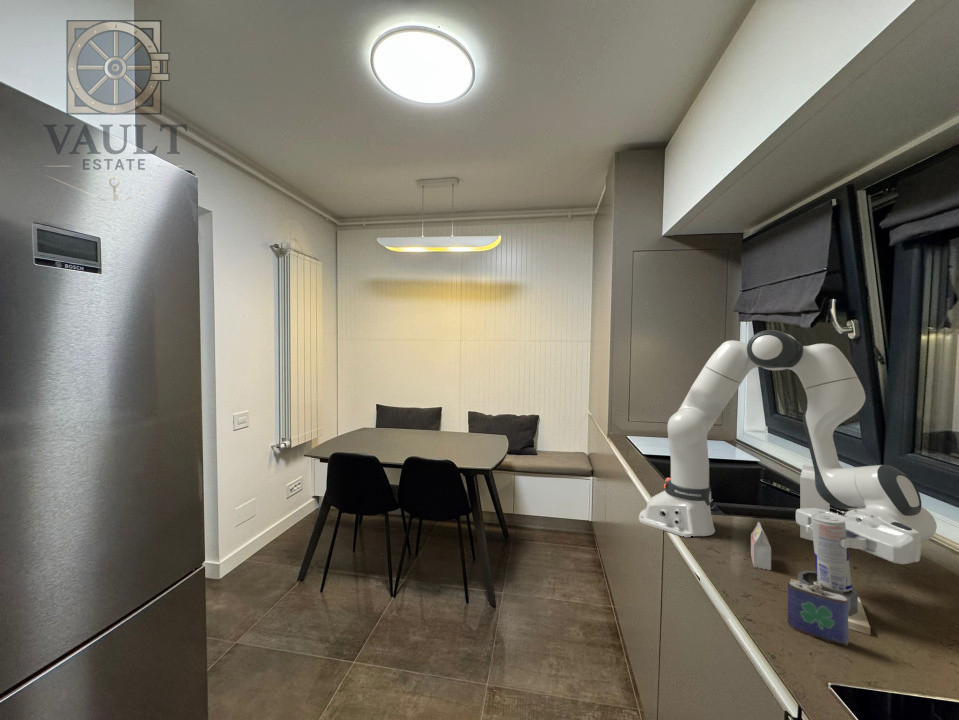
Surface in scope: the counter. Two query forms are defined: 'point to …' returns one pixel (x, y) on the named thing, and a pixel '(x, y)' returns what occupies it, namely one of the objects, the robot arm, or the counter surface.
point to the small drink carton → (760, 548)
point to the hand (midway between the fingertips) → (823, 536)
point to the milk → (809, 496)
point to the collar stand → (855, 608)
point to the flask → (818, 612)
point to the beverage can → (831, 552)
